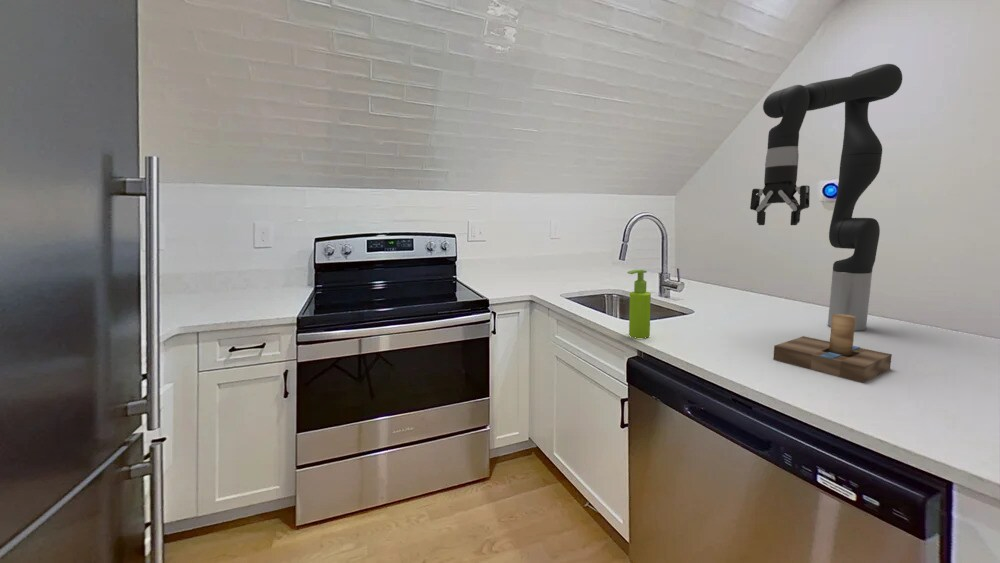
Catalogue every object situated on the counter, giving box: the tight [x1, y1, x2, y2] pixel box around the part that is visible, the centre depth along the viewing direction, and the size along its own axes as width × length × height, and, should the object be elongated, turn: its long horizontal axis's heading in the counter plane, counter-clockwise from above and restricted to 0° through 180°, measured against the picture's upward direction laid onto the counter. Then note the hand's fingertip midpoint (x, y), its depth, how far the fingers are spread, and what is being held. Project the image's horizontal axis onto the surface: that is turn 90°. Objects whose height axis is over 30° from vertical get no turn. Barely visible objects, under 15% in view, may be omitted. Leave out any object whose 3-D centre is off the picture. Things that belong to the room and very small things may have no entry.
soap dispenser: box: [627, 269, 652, 339], centre depth 127 cm, size 6×7×20 cm
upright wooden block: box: [829, 314, 856, 358], centre depth 99 cm, size 4×4×12 cm
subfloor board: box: [772, 335, 892, 384], centre depth 101 cm, size 14×18×4 cm
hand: (777, 225), depth 120 cm, fingers open, 8 cm apart
